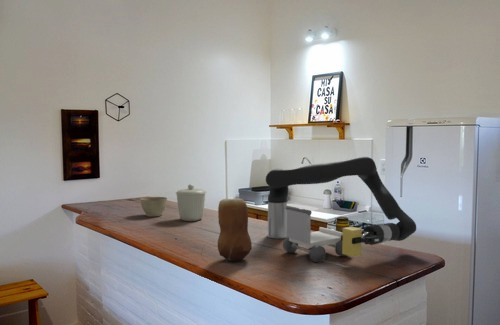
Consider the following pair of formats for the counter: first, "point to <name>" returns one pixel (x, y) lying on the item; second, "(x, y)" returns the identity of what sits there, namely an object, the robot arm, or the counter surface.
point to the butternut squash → (233, 229)
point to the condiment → (341, 224)
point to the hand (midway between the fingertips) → (347, 239)
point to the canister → (191, 203)
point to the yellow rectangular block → (347, 244)
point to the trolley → (309, 235)
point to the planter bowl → (154, 205)
